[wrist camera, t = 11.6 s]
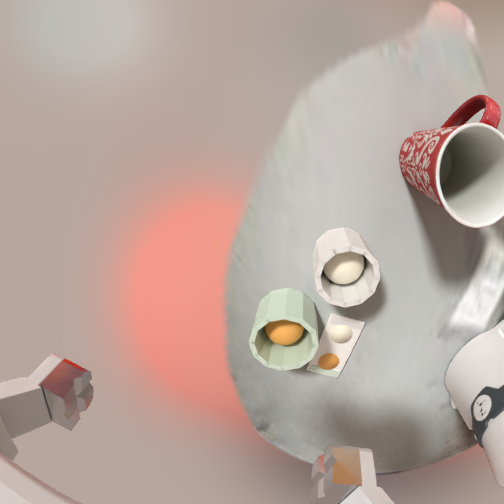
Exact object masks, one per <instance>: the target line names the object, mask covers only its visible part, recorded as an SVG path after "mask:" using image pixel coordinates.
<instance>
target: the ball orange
mask: <svg viewBox="0 0 504 504" xmlns="http://www.w3.org/2000/svg"><path fill="white" fill-rule="evenodd" d="M265 331H266V334H267V335H268V337H269V338H270V339H271V340H272V341H273V342H275V343H277V344H280V345H289V344H292V343H294V342H296V341H297V340H298V339H299V338H300V337H301V336H302V334H303V331H304V327H303V326H302V325H301V324H300V323H296V322H293V321H289V320H285V319H284V320H278V321H273V322H269V323H267V324H266V325H265Z"/></svg>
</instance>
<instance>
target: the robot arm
mask: <svg viewBox="0 0 504 504" xmlns="http://www.w3.org/2000/svg"><path fill="white" fill-rule="evenodd" d="M91 379H92V375H91V372H90V371H88V370H86V369H85V368H82V367H81V366H79V365H77V364H75V363H73V362H71V361H69V360H67V359H65V358H64V357H62V356H60V355H58V354H56V353H54V354H51V355H50V356H49V357H48V358H47V359H46V360H45V361H44V362H43V363H42V364H41V365H40V366H39V367H38V368H37V369H36V370H35V371H34V372H33V373H32V374H31V375H30V376H29V377H28V378H26V377H21V378H17V379H13V380H9V381H5V382H1V383H0V504H81V503H80V502H78V501H76V500H74V499H72V498H70V497H68V496H66V495H65V494H63V493H61V492H60V491H58V490H56V489H55V488H53V487H51V486H49V485H48V484H46V483H45V482H43V481H42V480H40V479H38V478H37V477H35V476H34V475H32V474H30V473H29V472H28V471H26V470H25V469H23V468H22V467H20V466H19V465H18V464H16V463H15V462H13V459H14V458H15V457H16V455H17V454H18V449H17V447H16V445H15V444H14V442H13V440H12V439H13V438H15V437H17V436H20V435H22V434H25V433H27V432H29V431H32V430H34V429H36V428H39V427H41V426H43V425H45V424H48V423H50V422H51V420H52V421H54V422H55V423H57V424H59V425H61V426H63V427H65V428H67V429H68V430H72V429H73V428H74V426H75V425H76V424H77V422H78V421H79V420H80V414H79V412H82V411H85V410H87V408H88V407H89V405H90V403H91V401H92V398H93V386H92V385H91V384H90V380H91ZM445 385H446V389H447V390H448V392H449V393H450V396H451V397H450V404H451V406H452V408H454V409H458V410H459V412H460V414H461V416H462V417H463V419H464V421H465V422H466V424H467V426H468V428H469V429H471V430H473V432H474V434H475V435H474V436H475V438H476V440H477V441H478V443H479V445H480V446H481V447H482V448H484V450H485V453H486V455H487V458H488V460H489V463H490V466H491V468H492V471H493V474H494V477H495V479H496V482H497V483H498V484H499V485H500V486H502V487H504V320H502V321H501V322H500V323H499V324H498V325H497V326H495V327H494V328H493V329H491V330H489V331H486V332H484V333H482V334H480V335H478V336H476V337H475V338H473V339H472V340H471V341H469V342H468V343H467V344H466V345H465V346H464V347H463V348H462V349H461V350H460V351H459V352H458V353H457V354H456V356H455V357H454V358H453V360H452V362H451V363H450V365H449V367H448V370H447V372H446V376H445ZM311 480H312V482H313V483H314V485H315V486H314V487H313V488H312V490H311V498H310V504H394V502H393V501H392V500H391V499H390V498H389V497H388V495H387V494H386V493H385V492H384V490H383V489H382V488H381V487H377V483H376V474H375V467H374V460H373V453H372V450H371V449H367V448H356V447H351V446H343V445H335V444H328V445H327V446H326V447H325V449H324V454H323V455H321V456H319V457H318V458H317V459H316V461H315V463H314V466H313V468H312V476H311Z"/></svg>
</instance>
